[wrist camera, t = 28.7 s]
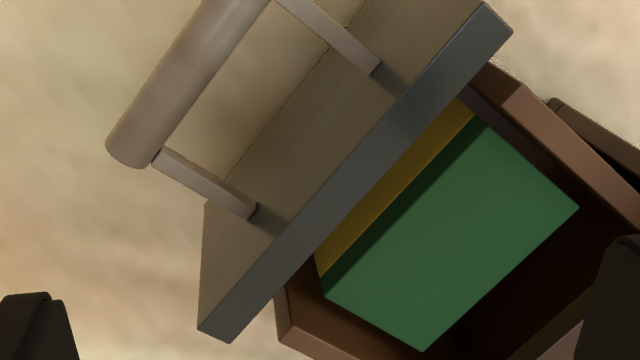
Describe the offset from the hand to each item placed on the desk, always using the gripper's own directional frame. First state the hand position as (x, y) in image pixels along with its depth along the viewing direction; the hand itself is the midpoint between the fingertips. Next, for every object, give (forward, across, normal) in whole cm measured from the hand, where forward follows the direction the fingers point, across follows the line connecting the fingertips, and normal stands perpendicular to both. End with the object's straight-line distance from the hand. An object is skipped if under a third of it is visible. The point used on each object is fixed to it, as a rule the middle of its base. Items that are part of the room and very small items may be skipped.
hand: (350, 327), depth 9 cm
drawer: (+13, -4, +3) cm, 14 cm away
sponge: (+12, -5, +4) cm, 13 cm away
